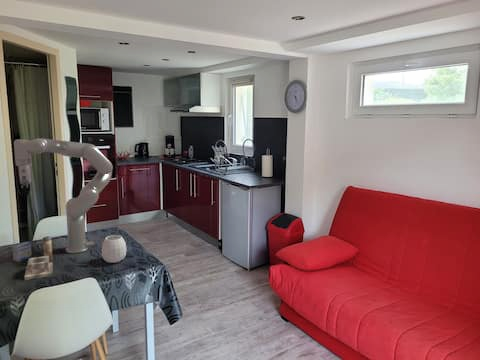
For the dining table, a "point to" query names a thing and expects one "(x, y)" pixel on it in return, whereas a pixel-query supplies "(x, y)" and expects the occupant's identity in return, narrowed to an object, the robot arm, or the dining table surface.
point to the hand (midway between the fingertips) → (26, 193)
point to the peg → (48, 248)
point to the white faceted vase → (113, 249)
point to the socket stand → (38, 268)
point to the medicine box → (21, 251)
